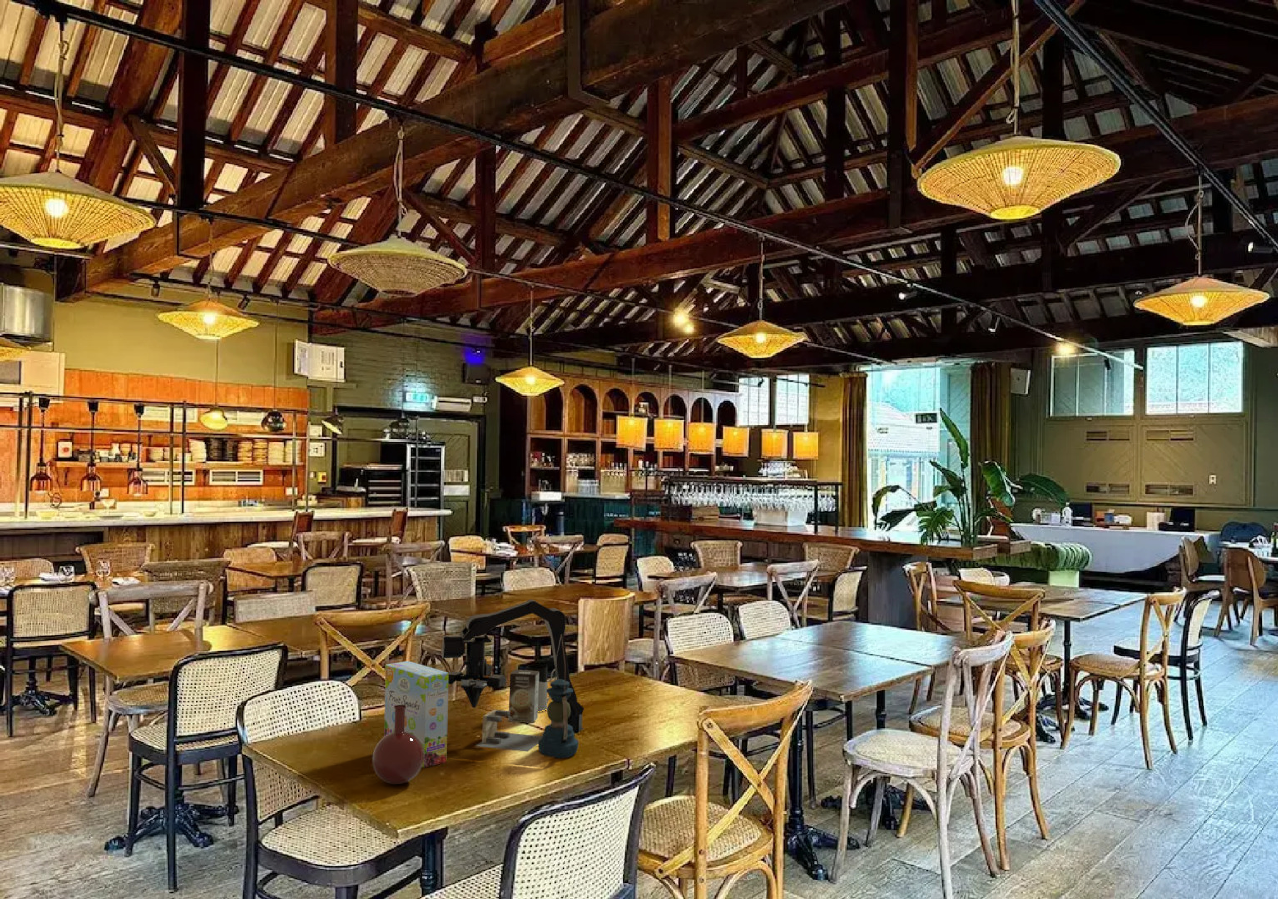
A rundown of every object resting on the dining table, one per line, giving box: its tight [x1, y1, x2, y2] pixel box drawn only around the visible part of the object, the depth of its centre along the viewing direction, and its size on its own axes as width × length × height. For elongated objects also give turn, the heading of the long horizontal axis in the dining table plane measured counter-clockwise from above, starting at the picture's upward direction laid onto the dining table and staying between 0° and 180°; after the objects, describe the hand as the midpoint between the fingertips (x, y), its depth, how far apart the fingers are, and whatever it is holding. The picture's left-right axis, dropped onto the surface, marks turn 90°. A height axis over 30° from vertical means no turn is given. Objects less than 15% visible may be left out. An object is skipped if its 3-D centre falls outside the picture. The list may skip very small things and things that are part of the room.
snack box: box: [383, 660, 450, 769], centre depth 253 cm, size 22×9×26 cm, turn 47°
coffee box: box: [507, 669, 539, 723], centre depth 296 cm, size 9×6×16 cm
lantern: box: [537, 634, 579, 759], centre depth 260 cm, size 14×12×35 cm
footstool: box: [481, 709, 511, 744], centre depth 270 cm, size 6×8×8 cm
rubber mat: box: [475, 732, 543, 752], centre depth 269 cm, size 17×16×1 cm
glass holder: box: [525, 664, 555, 711], centre depth 311 cm, size 9×14×15 cm, turn 115°
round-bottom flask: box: [372, 705, 424, 785], centre depth 231 cm, size 13×13×20 cm
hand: (474, 707), depth 272 cm, fingers closed
